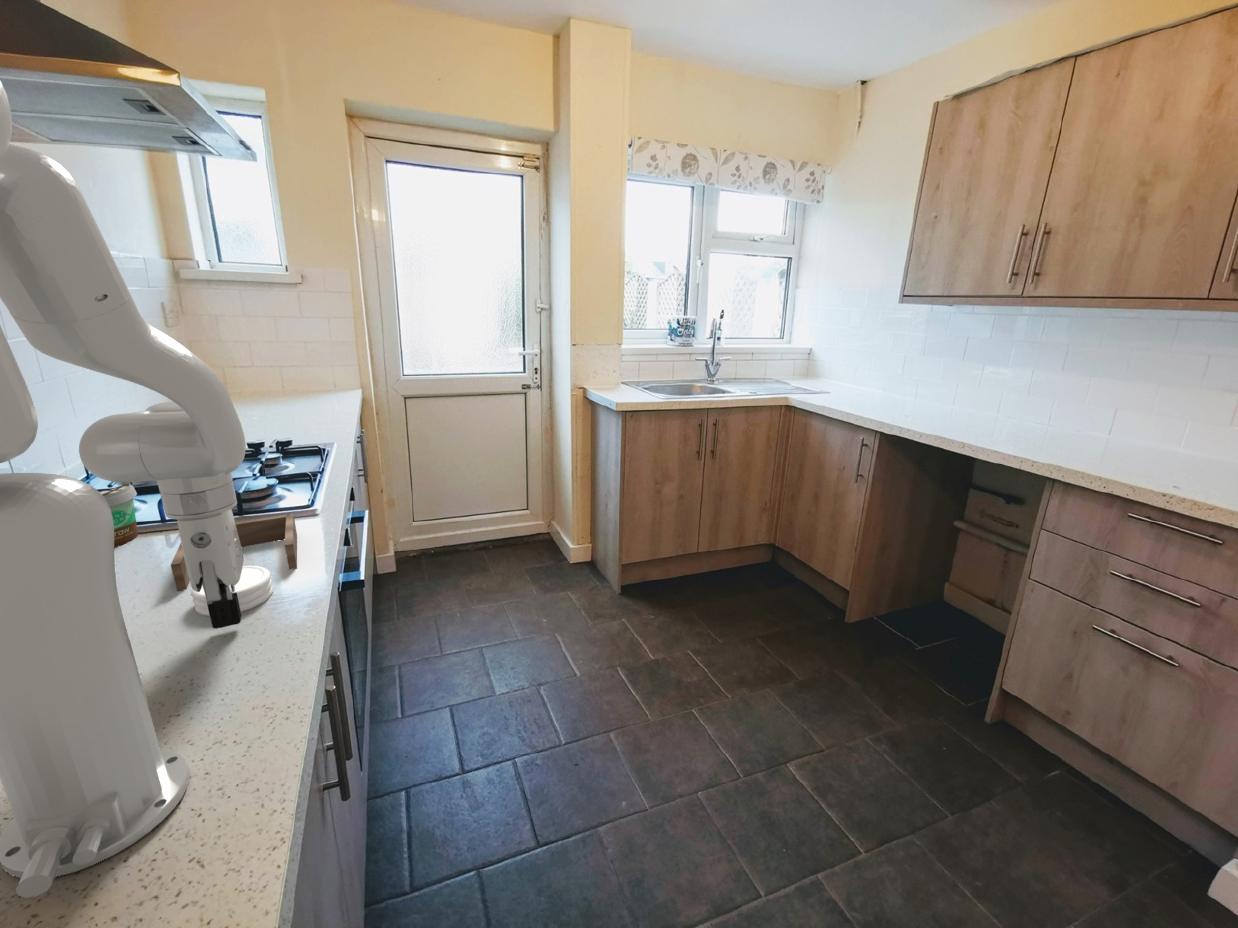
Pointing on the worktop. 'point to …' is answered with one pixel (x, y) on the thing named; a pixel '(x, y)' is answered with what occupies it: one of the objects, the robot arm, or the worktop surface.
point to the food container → (122, 512)
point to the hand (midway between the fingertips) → (227, 623)
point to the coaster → (242, 590)
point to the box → (250, 542)
